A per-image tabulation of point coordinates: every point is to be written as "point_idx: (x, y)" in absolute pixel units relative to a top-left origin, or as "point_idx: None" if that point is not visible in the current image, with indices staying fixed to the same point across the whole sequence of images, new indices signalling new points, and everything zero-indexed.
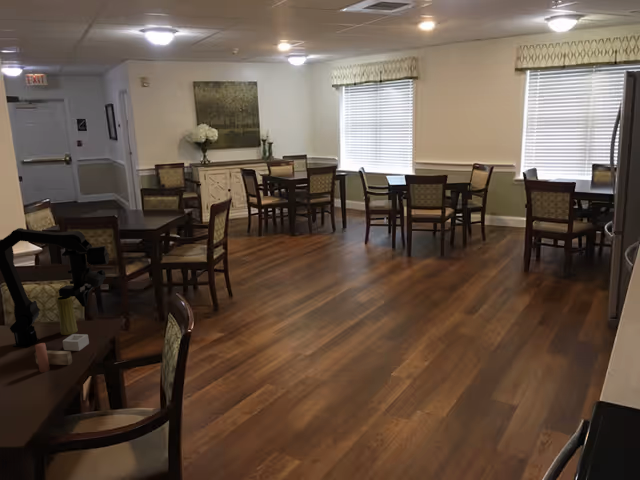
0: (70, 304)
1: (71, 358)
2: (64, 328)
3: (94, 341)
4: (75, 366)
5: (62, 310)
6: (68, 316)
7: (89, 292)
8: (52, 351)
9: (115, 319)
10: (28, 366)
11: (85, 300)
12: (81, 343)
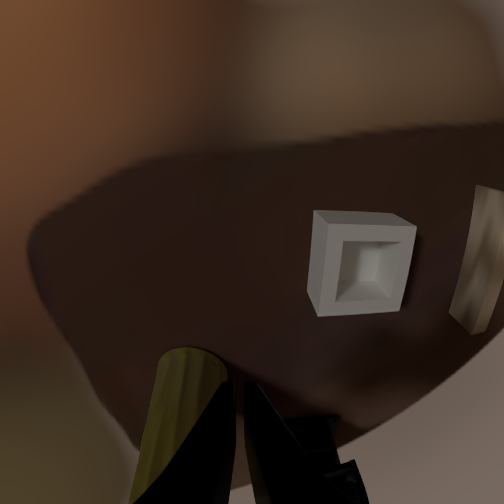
0: None
1: (488, 188)
2: None
3: (287, 194)
4: (496, 156)
5: None
6: None
7: (139, 500)
8: (495, 274)
9: (27, 245)
10: None
11: (259, 433)
12: (383, 218)
